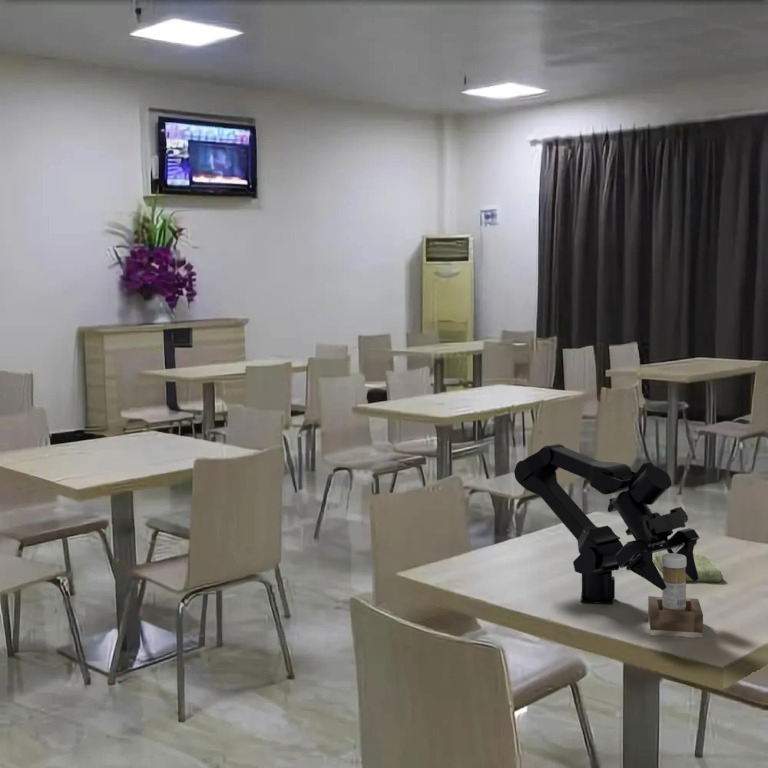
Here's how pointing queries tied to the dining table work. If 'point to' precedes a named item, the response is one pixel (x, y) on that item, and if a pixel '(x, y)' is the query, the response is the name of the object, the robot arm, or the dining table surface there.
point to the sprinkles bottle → (674, 582)
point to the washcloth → (703, 567)
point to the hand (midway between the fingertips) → (680, 584)
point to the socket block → (675, 619)
